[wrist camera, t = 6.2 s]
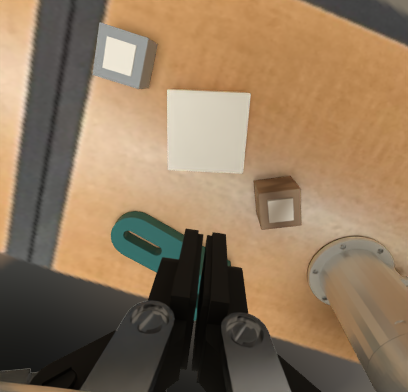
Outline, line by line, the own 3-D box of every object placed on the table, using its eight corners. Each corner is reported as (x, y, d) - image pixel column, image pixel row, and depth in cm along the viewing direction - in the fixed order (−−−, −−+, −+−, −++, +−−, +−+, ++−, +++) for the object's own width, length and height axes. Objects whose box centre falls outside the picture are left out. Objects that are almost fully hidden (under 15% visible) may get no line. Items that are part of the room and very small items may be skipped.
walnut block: (290, 175, 38) (301, 189, 33) (291, 208, 40) (302, 226, 35) (253, 180, 39) (259, 194, 34) (256, 212, 41) (262, 230, 36)
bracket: (230, 260, 44) (233, 296, 37) (207, 289, 46) (205, 328, 39) (128, 202, 41) (109, 228, 34) (108, 236, 43) (86, 267, 36)
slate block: (157, 44, 33) (147, 37, 28) (148, 88, 35) (138, 89, 30) (115, 30, 33) (98, 21, 28) (109, 75, 34) (91, 74, 29)
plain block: (245, 92, 35) (250, 93, 30) (239, 162, 38) (242, 173, 33) (173, 88, 35) (167, 89, 30) (173, 159, 38) (167, 170, 34)
